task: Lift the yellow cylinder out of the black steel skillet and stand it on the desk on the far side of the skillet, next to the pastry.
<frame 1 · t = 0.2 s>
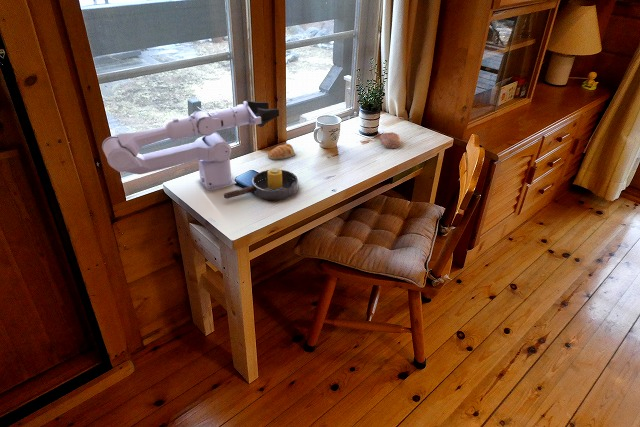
hand: (273, 109, 148), 21 cm above the table, tool horizontal, fingers open, 7 cm apart
pinkish-brown rounded lump: (389, 145, 178), on the table
skillet: (275, 190, 148), on the table
pastry: (282, 156, 168), on the table
yellow cylinder: (275, 188, 148), resting on skillet
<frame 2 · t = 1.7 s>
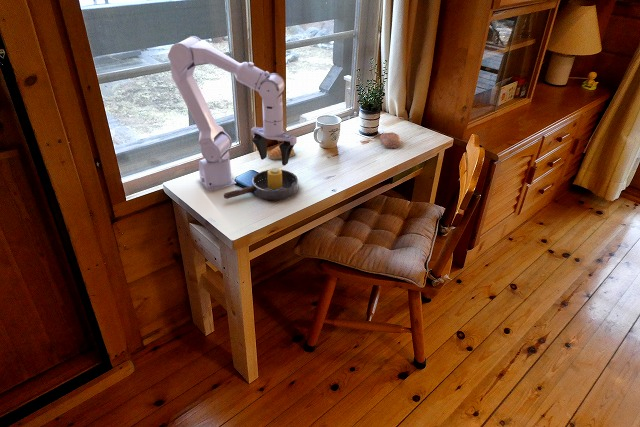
hand: (274, 161, 143), 10 cm above the table, tool pointing down, fingers open, 7 cm apart
nothing on the table moved.
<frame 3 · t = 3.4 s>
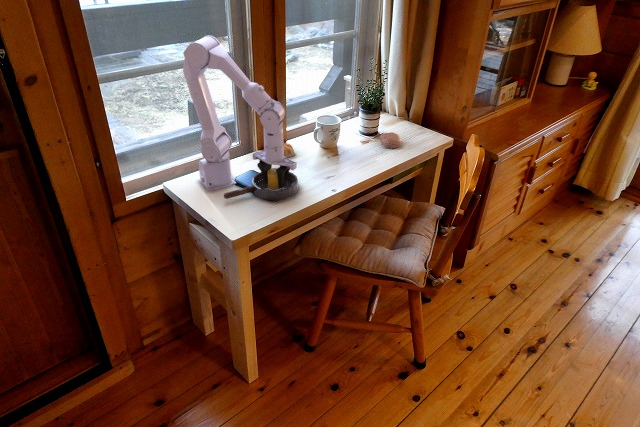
hand: (275, 184, 147), 2 cm above the table, tool pointing down, fingers closed on yellow cylinder, 4 cm apart
yellow cylinder: (275, 188, 148), point 1 cm above the table, touching gripper, skillet
everything else where it was.
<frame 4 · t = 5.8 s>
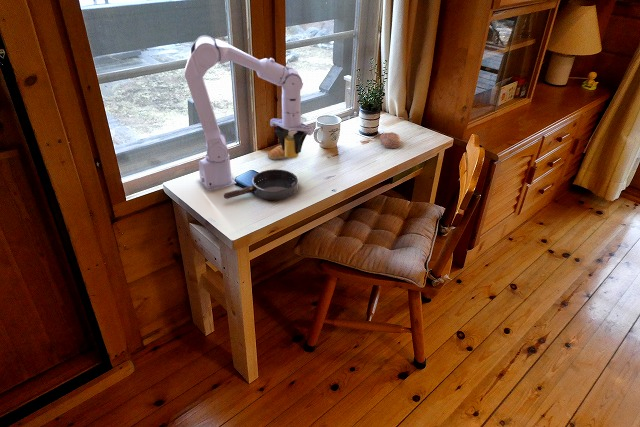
hand: (291, 150, 151), 9 cm above the table, tool pointing down, fingers closed on yellow cylinder, 4 cm apart
yellow cylinder: (291, 155, 152), point 7 cm above the table, touching gripper
everything else where it was.
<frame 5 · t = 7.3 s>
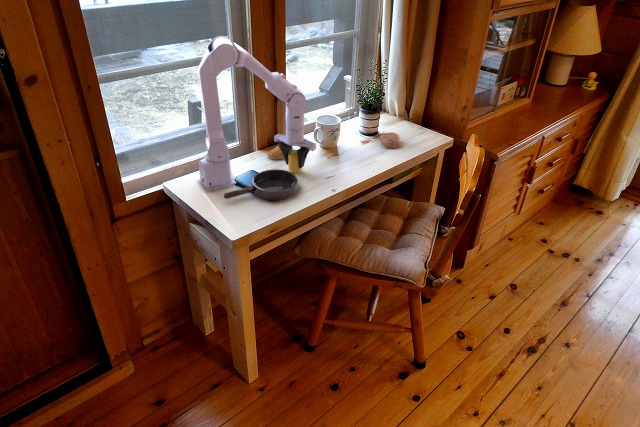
hand: (295, 165, 157), 3 cm above the table, tool pointing down, fingers closed on yellow cylinder, 4 cm apart
yellow cylinder: (295, 169, 157), point 1 cm above the table, touching gripper
everything else where it was.
when the fingers open (1 cm above the table, at t = 8.2 s): yellow cylinder stays where it is, on the table.
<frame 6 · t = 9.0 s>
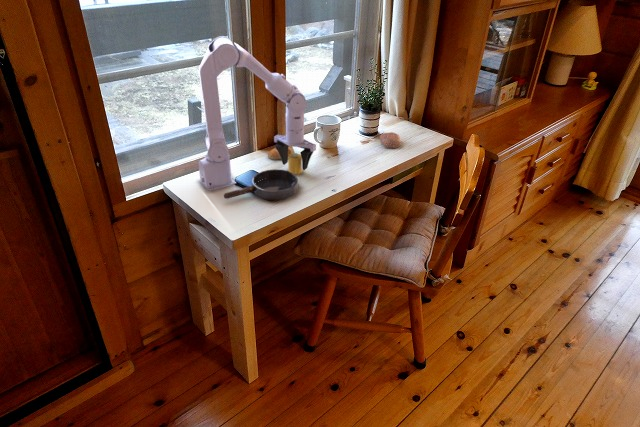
hand: (294, 166, 157), 2 cm above the table, tool pointing down, fingers open, 7 cm apart
yellow cylinder: (295, 172, 158), on the table
everything else where it was.
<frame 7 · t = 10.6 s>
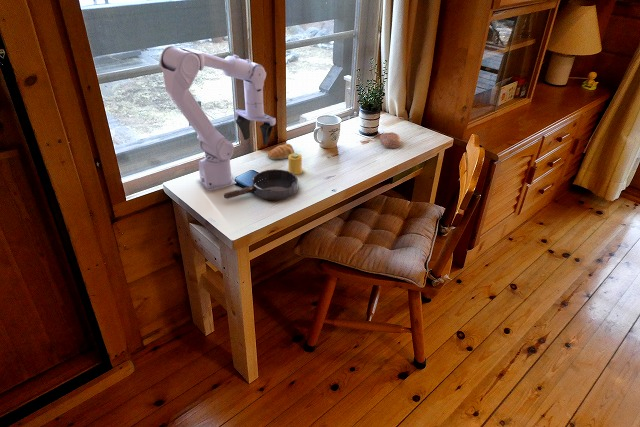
hand: (256, 141, 156), 9 cm above the table, tool pointing down, fingers open, 7 cm apart
nothing on the table moved.
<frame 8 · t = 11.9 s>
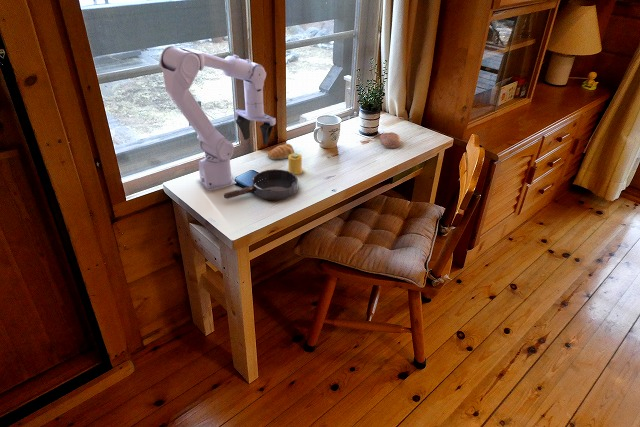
hand: (256, 141, 156), 9 cm above the table, tool pointing down, fingers open, 7 cm apart
nothing on the table moved.
at the end: yellow cylinder 0.0 cm from the target spot, on the table; yellow cylinder tilted 0°; yellow cylinder touching table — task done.
